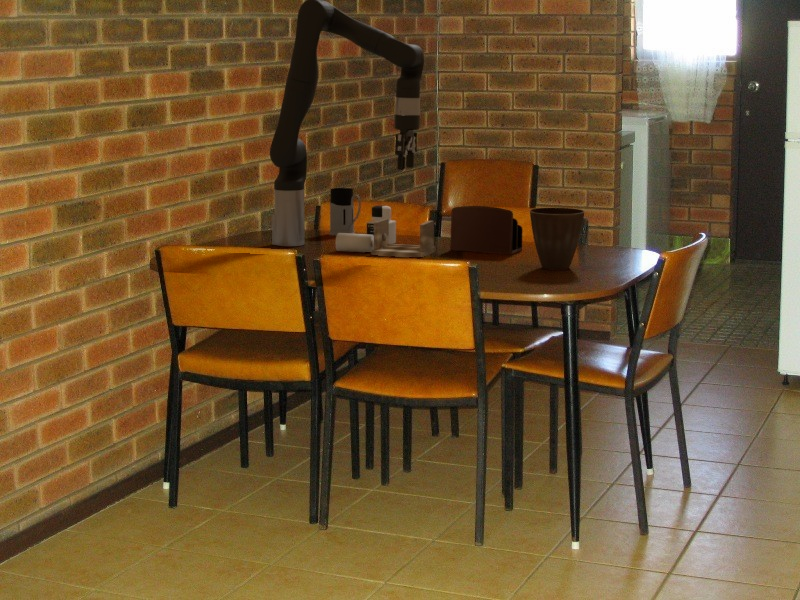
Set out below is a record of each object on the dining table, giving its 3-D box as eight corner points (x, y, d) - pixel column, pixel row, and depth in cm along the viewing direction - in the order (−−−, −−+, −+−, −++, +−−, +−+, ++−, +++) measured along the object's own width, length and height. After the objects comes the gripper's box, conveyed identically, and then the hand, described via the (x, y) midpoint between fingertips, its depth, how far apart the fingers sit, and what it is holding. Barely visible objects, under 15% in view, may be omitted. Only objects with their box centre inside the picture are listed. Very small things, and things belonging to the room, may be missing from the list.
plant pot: (581, 273, 326) (583, 214, 323) (526, 271, 328) (527, 213, 325) (583, 264, 340) (585, 208, 337) (530, 263, 343) (531, 206, 340)
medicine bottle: (366, 244, 378) (366, 206, 376) (375, 241, 384) (375, 204, 382) (387, 246, 375) (387, 207, 373) (396, 243, 382) (396, 205, 379)
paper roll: (335, 252, 363) (334, 234, 361) (341, 249, 368) (341, 231, 367) (369, 254, 359) (368, 236, 358) (375, 251, 364) (375, 233, 363)
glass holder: (344, 231, 408) (344, 187, 405) (370, 236, 397) (370, 190, 394) (323, 233, 402) (323, 188, 400) (349, 238, 392) (349, 192, 389)
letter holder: (511, 255, 358) (512, 208, 356) (449, 251, 367) (450, 204, 364) (522, 251, 367) (523, 204, 365) (462, 246, 375) (462, 201, 373)
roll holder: (371, 255, 356) (371, 223, 354) (386, 248, 369) (387, 217, 367) (421, 258, 351) (421, 225, 349) (435, 251, 364) (435, 220, 362)
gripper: (402, 112, 363) (400, 166, 366) (387, 113, 350) (386, 169, 353) (426, 113, 361) (424, 167, 364) (412, 114, 348) (410, 171, 351)
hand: (405, 168), depth 359 cm, fingers open, 8 cm apart
